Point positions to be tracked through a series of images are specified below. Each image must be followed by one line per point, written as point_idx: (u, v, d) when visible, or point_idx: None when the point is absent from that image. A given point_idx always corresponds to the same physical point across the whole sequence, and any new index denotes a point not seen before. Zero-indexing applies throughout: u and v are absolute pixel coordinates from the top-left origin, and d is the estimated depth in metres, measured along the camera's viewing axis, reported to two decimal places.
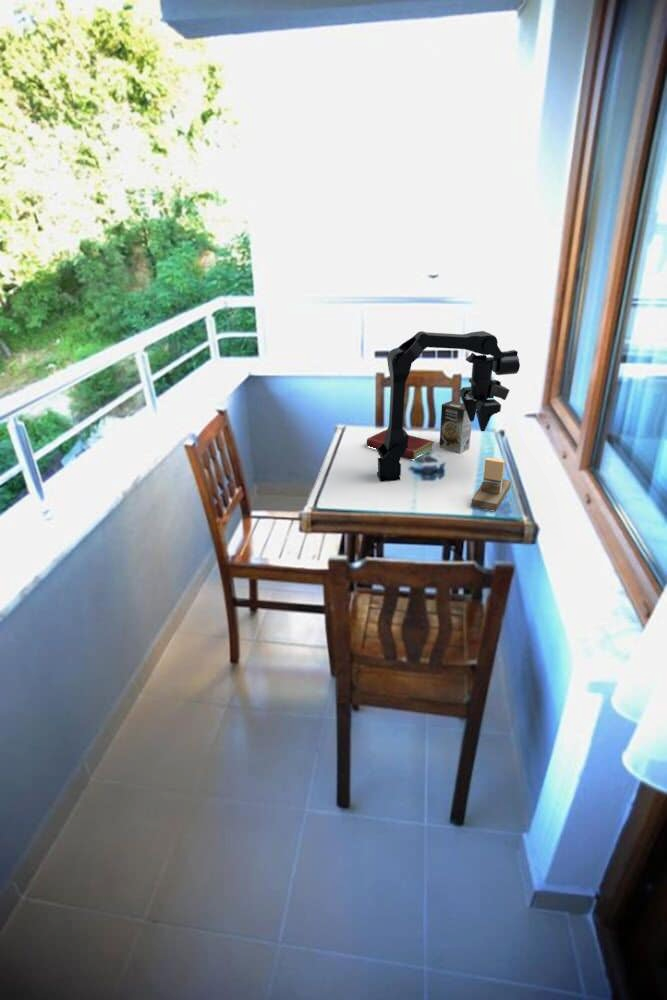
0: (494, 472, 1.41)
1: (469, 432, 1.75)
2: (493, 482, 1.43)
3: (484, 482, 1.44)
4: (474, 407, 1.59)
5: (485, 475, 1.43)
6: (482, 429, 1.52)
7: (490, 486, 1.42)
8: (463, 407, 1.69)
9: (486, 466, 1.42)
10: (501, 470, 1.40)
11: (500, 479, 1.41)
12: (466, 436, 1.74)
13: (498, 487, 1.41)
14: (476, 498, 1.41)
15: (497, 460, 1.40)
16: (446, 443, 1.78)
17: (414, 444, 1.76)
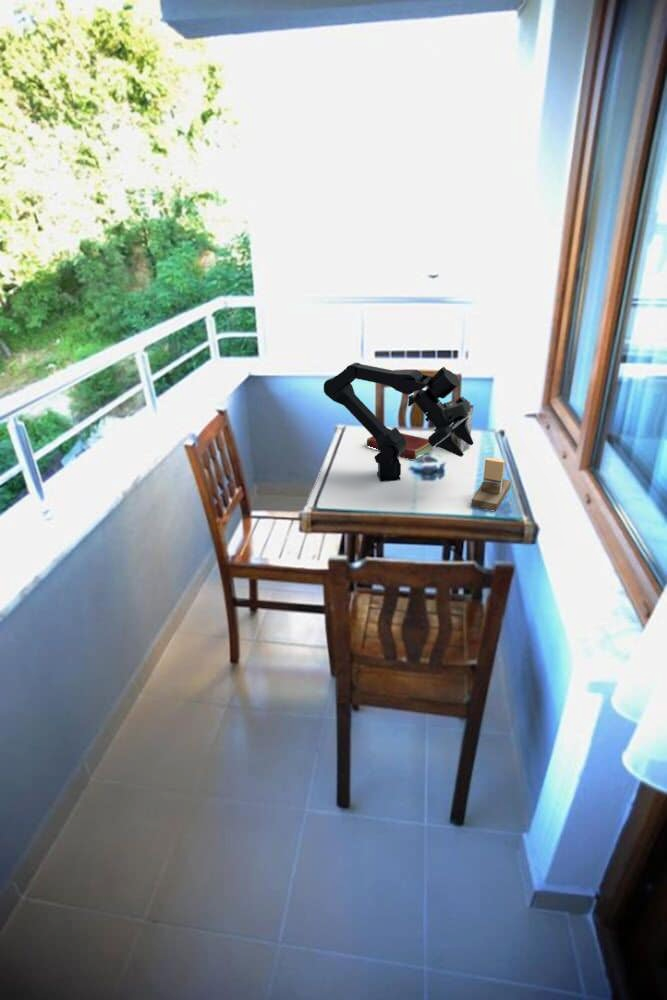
0: (494, 472, 1.41)
1: (469, 432, 1.75)
2: (493, 482, 1.43)
3: (484, 482, 1.44)
4: (464, 431, 1.47)
5: (485, 475, 1.43)
6: (459, 455, 1.40)
7: (490, 486, 1.42)
8: None
9: (486, 466, 1.42)
10: (501, 470, 1.40)
11: (500, 479, 1.41)
12: None
13: (498, 487, 1.41)
14: (476, 498, 1.41)
15: (497, 460, 1.40)
16: None
17: (415, 443, 1.76)
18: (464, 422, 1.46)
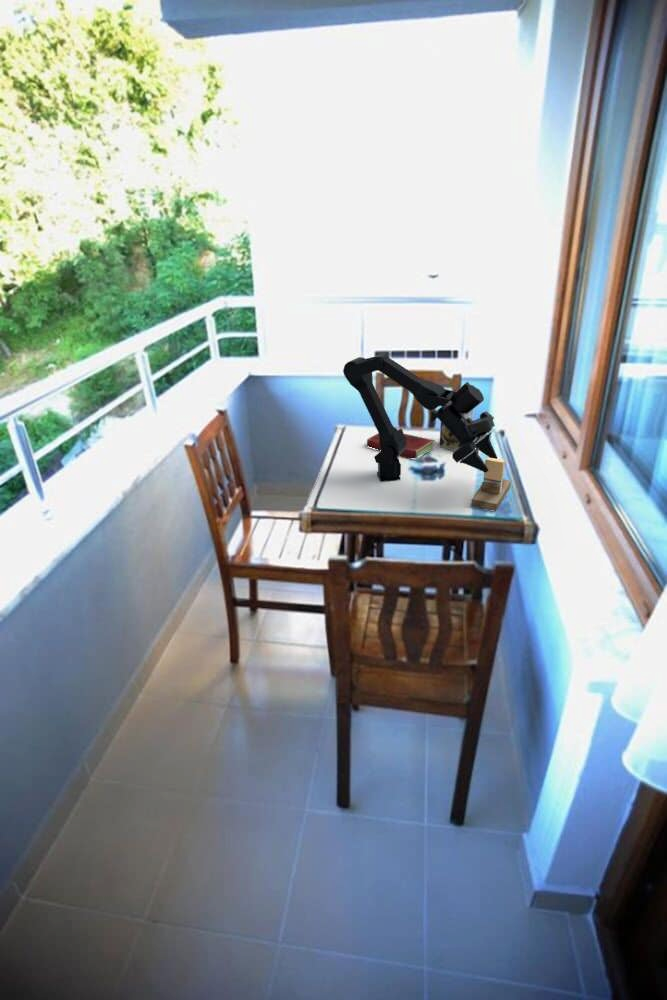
0: (494, 472, 1.41)
1: None
2: (493, 482, 1.43)
3: (484, 482, 1.44)
4: (487, 446, 1.45)
5: (485, 475, 1.43)
6: (484, 470, 1.38)
7: (490, 486, 1.42)
8: None
9: None
10: (501, 470, 1.40)
11: (500, 479, 1.41)
12: None
13: (498, 487, 1.41)
14: (476, 498, 1.41)
15: (497, 460, 1.40)
16: (446, 443, 1.78)
17: (415, 443, 1.76)
18: (488, 437, 1.44)
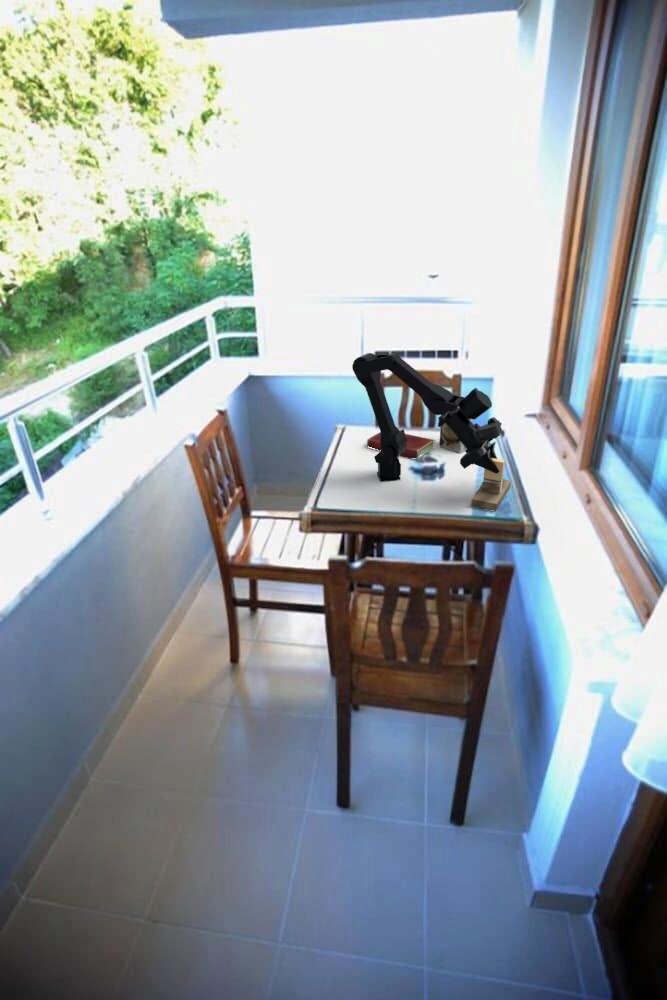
0: None
1: None
2: (493, 482, 1.43)
3: (484, 482, 1.44)
4: (491, 456, 1.42)
5: (485, 475, 1.43)
6: (495, 471, 1.41)
7: (490, 486, 1.42)
8: None
9: None
10: (501, 470, 1.40)
11: (500, 479, 1.41)
12: None
13: (498, 487, 1.41)
14: (476, 498, 1.41)
15: (497, 460, 1.40)
16: (446, 443, 1.78)
17: (416, 443, 1.76)
18: (491, 447, 1.41)
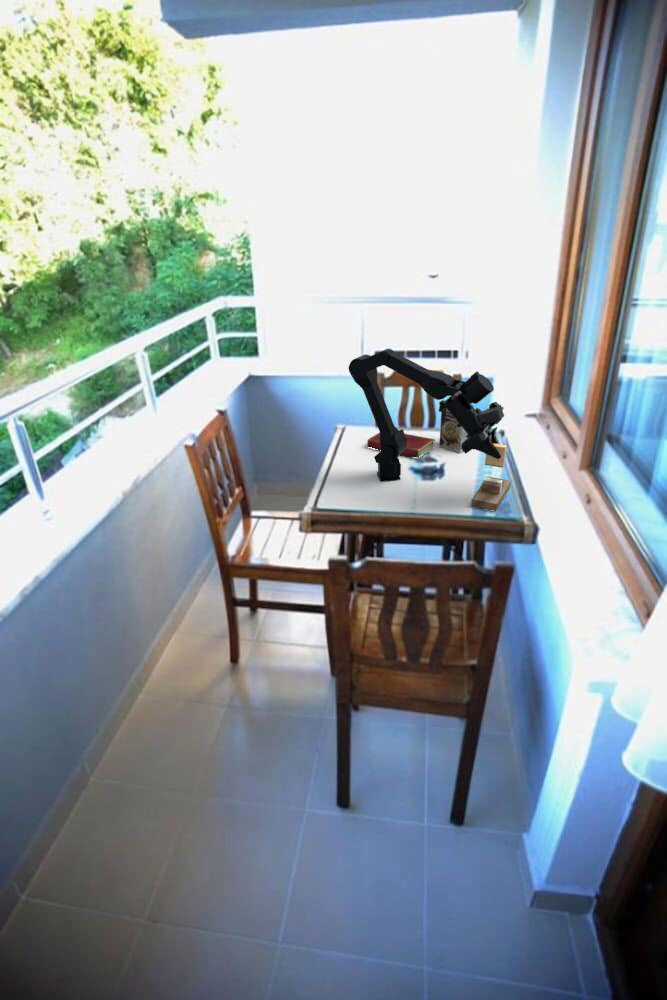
0: None
1: None
2: (493, 482, 1.43)
3: (484, 482, 1.44)
4: (493, 441, 1.40)
5: (486, 461, 1.41)
6: (496, 457, 1.39)
7: (490, 486, 1.42)
8: None
9: None
10: (503, 455, 1.38)
11: (502, 465, 1.39)
12: None
13: (498, 487, 1.41)
14: (476, 498, 1.41)
15: (499, 445, 1.38)
16: (446, 443, 1.78)
17: (416, 443, 1.77)
18: (493, 432, 1.39)
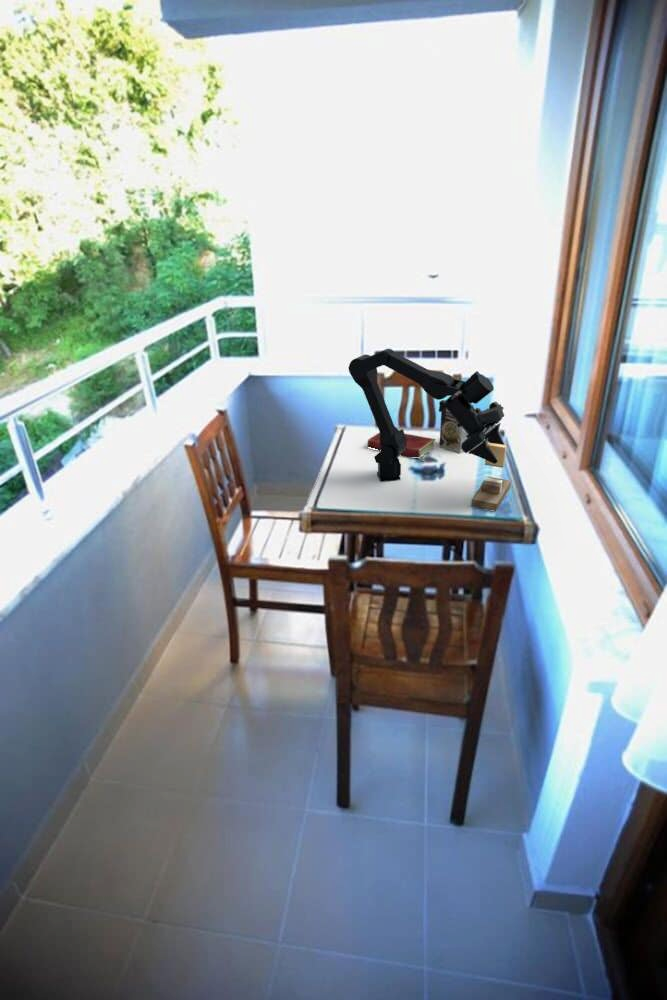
0: (496, 457, 1.39)
1: None
2: (493, 482, 1.43)
3: (484, 482, 1.44)
4: (496, 437, 1.43)
5: (486, 461, 1.41)
6: (493, 461, 1.36)
7: (490, 486, 1.42)
8: None
9: None
10: (503, 455, 1.38)
11: (502, 465, 1.39)
12: None
13: (498, 487, 1.41)
14: (476, 498, 1.41)
15: (499, 445, 1.38)
16: (446, 443, 1.78)
17: (417, 442, 1.77)
18: (496, 428, 1.42)
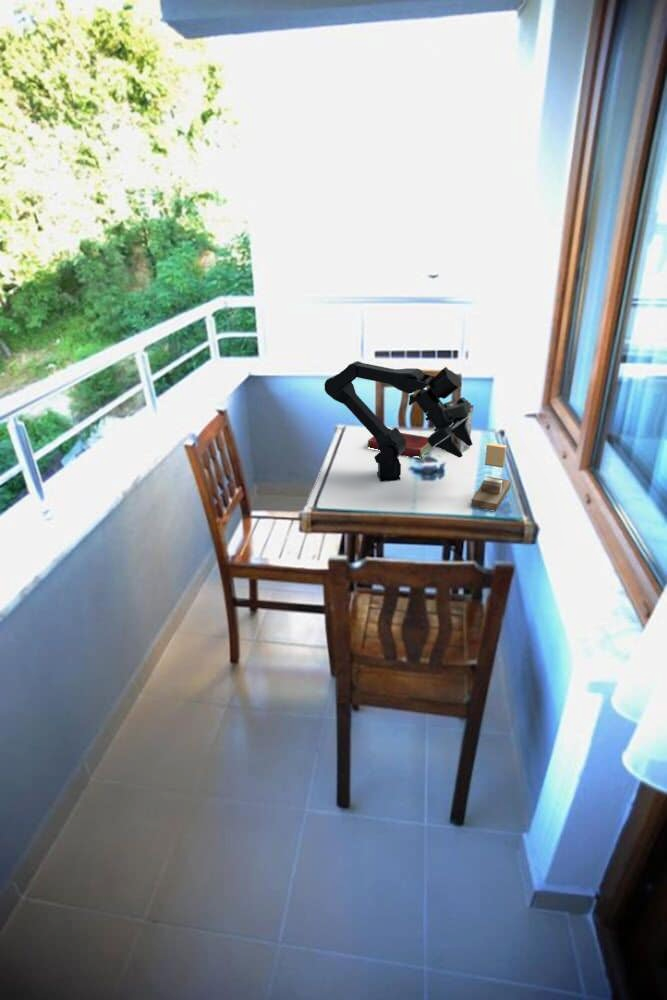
0: (496, 457, 1.39)
1: (469, 432, 1.75)
2: (493, 482, 1.43)
3: (484, 482, 1.44)
4: (463, 431, 1.47)
5: (486, 461, 1.41)
6: (458, 455, 1.41)
7: (490, 486, 1.42)
8: None
9: (487, 451, 1.40)
10: (503, 455, 1.38)
11: (502, 465, 1.39)
12: None
13: (498, 487, 1.41)
14: (476, 498, 1.41)
15: (499, 445, 1.38)
16: None
17: (417, 442, 1.77)
18: (464, 423, 1.46)
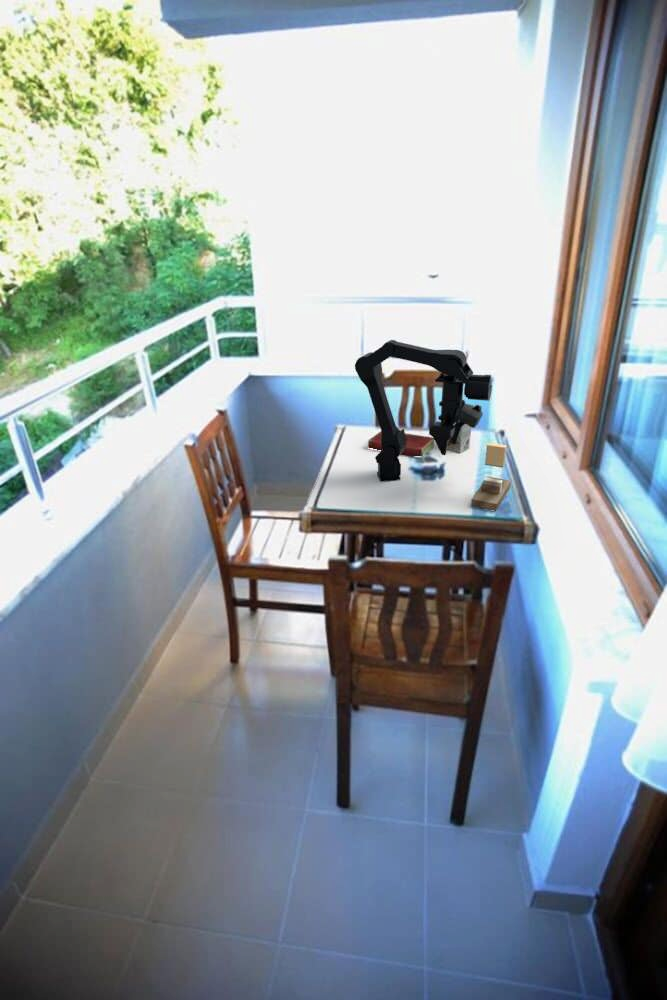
0: (496, 457, 1.39)
1: (469, 432, 1.75)
2: (493, 482, 1.43)
3: (484, 482, 1.44)
4: (457, 429, 1.50)
5: (486, 461, 1.41)
6: (442, 452, 1.45)
7: (490, 486, 1.42)
8: None
9: (487, 451, 1.40)
10: (503, 455, 1.38)
11: (502, 465, 1.39)
12: (466, 436, 1.74)
13: (498, 487, 1.41)
14: (476, 498, 1.41)
15: (499, 445, 1.38)
16: None
17: (418, 442, 1.77)
18: (463, 423, 1.48)
